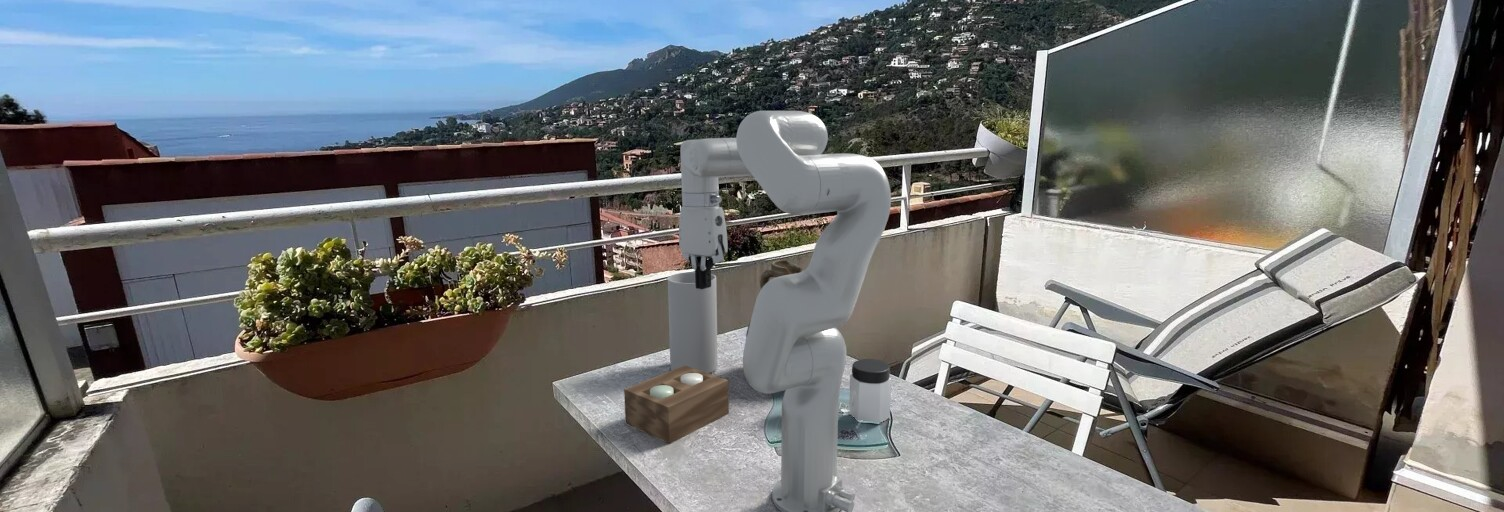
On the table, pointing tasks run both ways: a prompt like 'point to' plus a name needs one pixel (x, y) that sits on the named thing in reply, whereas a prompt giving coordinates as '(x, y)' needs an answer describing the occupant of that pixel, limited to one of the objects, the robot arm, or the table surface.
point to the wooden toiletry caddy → (676, 404)
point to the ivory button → (691, 378)
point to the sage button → (661, 391)
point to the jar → (870, 390)
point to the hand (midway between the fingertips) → (703, 287)
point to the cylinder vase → (692, 323)
